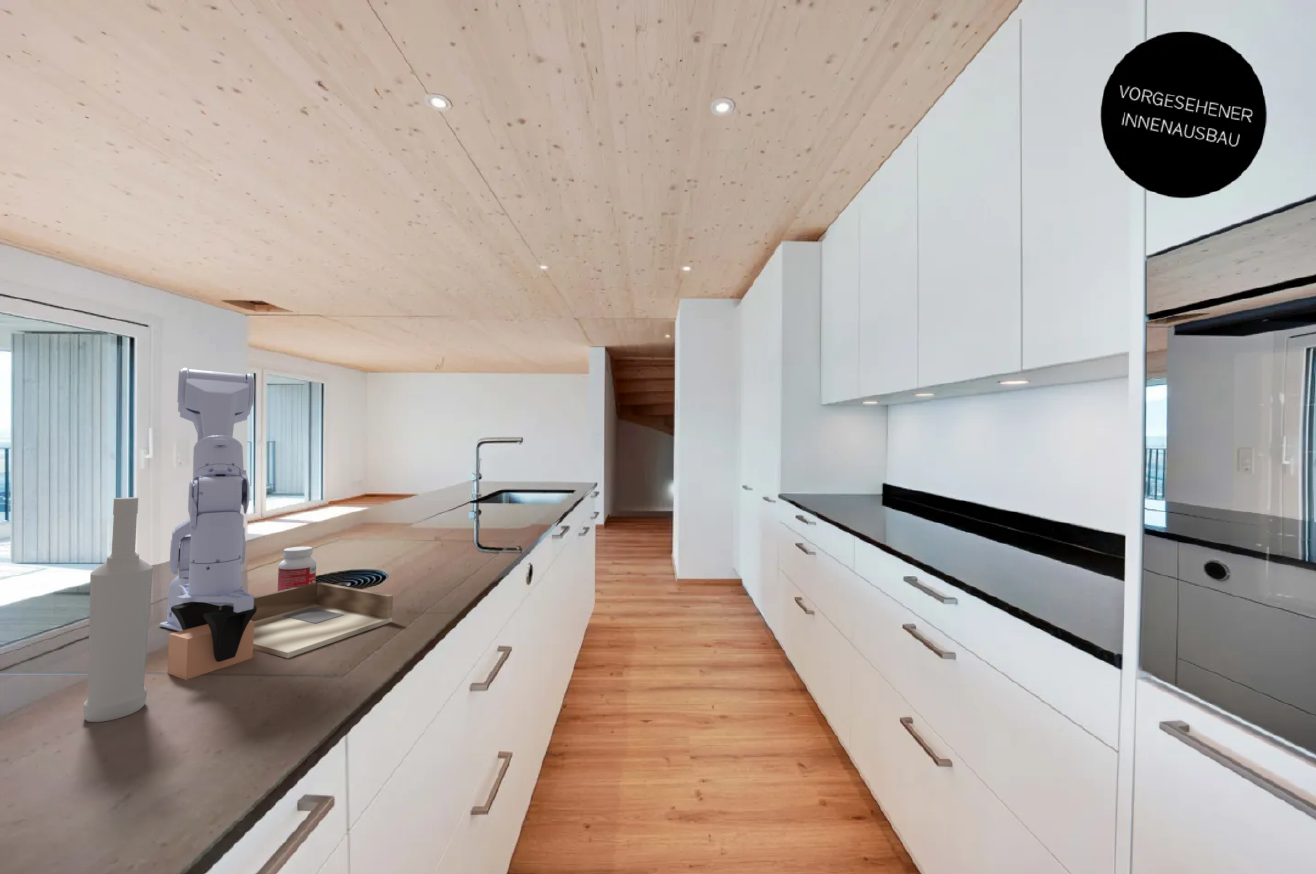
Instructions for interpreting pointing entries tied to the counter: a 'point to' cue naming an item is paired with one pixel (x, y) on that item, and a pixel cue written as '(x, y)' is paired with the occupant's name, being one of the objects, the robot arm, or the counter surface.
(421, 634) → the counter surface
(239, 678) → the counter surface
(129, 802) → the counter surface
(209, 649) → the block
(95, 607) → the bottle
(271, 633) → the tray
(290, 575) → the pill bottle
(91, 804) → the counter surface
